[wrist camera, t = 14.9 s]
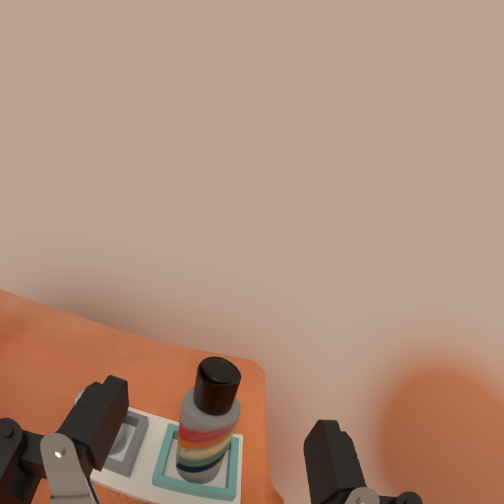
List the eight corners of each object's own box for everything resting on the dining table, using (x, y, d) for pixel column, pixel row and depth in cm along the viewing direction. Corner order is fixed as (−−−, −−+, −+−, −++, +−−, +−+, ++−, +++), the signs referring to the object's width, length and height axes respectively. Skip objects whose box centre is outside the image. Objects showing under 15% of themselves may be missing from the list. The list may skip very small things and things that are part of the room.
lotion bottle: (171, 453, 28) (181, 347, 22) (210, 450, 30) (239, 346, 25) (181, 487, 23) (196, 393, 18) (223, 481, 25) (264, 386, 20)
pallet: (52, 461, 19) (29, 423, 16) (91, 397, 33) (83, 355, 31) (237, 520, 20) (255, 499, 18) (240, 439, 35) (255, 403, 32)
